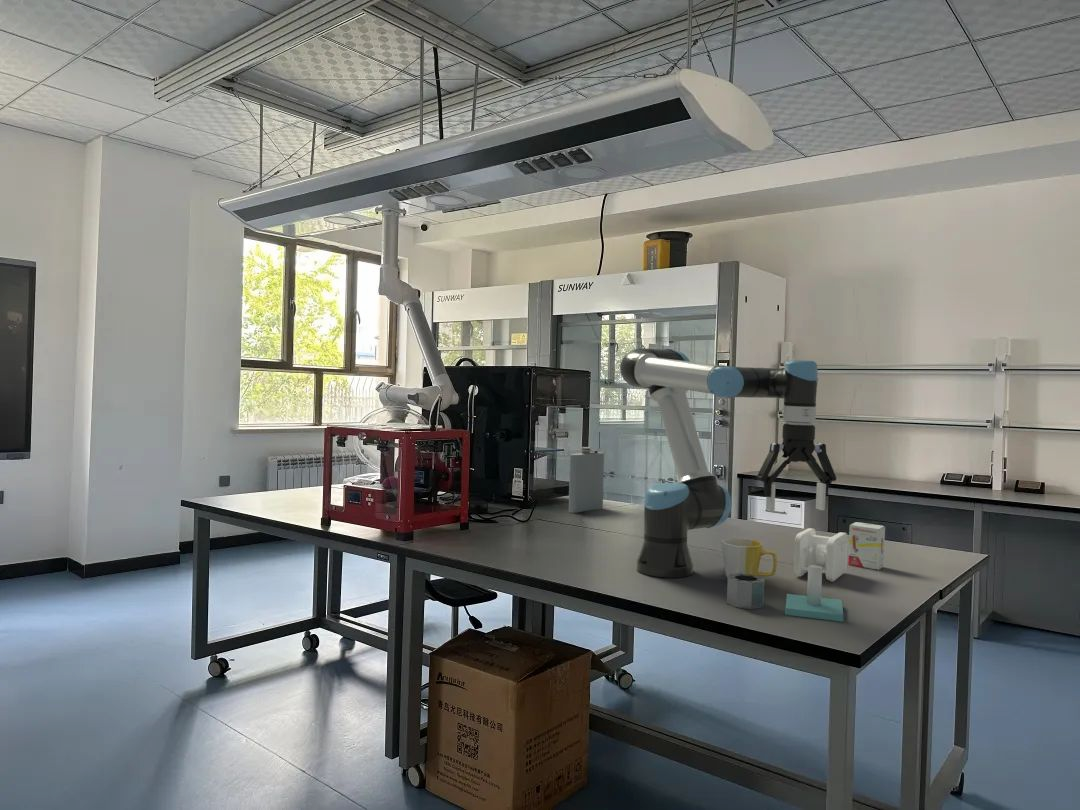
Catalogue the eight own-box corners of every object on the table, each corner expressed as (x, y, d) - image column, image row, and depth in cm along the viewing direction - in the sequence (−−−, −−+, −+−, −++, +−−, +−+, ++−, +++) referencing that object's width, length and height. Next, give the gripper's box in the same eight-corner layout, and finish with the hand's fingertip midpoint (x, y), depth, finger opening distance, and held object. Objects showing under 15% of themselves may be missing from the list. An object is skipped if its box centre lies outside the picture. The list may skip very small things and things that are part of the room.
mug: (714, 582, 191) (715, 542, 191) (728, 574, 200) (729, 535, 199) (768, 592, 183) (769, 549, 183) (779, 583, 192) (781, 542, 192)
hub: (725, 606, 171) (726, 580, 171) (729, 596, 178) (730, 572, 178) (762, 610, 168) (762, 584, 168) (764, 600, 176) (764, 575, 175)
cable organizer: (809, 567, 209) (810, 526, 209) (848, 573, 203) (850, 531, 203) (792, 578, 197) (794, 534, 197) (834, 585, 191) (835, 540, 191)
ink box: (847, 564, 213) (848, 523, 213) (852, 561, 217) (854, 521, 216) (878, 570, 207) (880, 528, 207) (884, 567, 211) (885, 525, 211)
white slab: (596, 506, 302) (597, 445, 302) (604, 508, 299) (605, 446, 298) (565, 511, 291) (566, 447, 290) (573, 513, 287) (575, 448, 287)
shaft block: (785, 614, 166) (786, 570, 165) (786, 600, 177) (788, 558, 176) (843, 621, 161) (844, 576, 161) (841, 606, 173) (842, 563, 172)
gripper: (760, 424, 175) (756, 513, 176) (853, 425, 181) (849, 511, 181) (744, 421, 183) (741, 507, 183) (835, 423, 188) (831, 506, 189)
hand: (795, 509), depth 182 cm, fingers open, 13 cm apart
